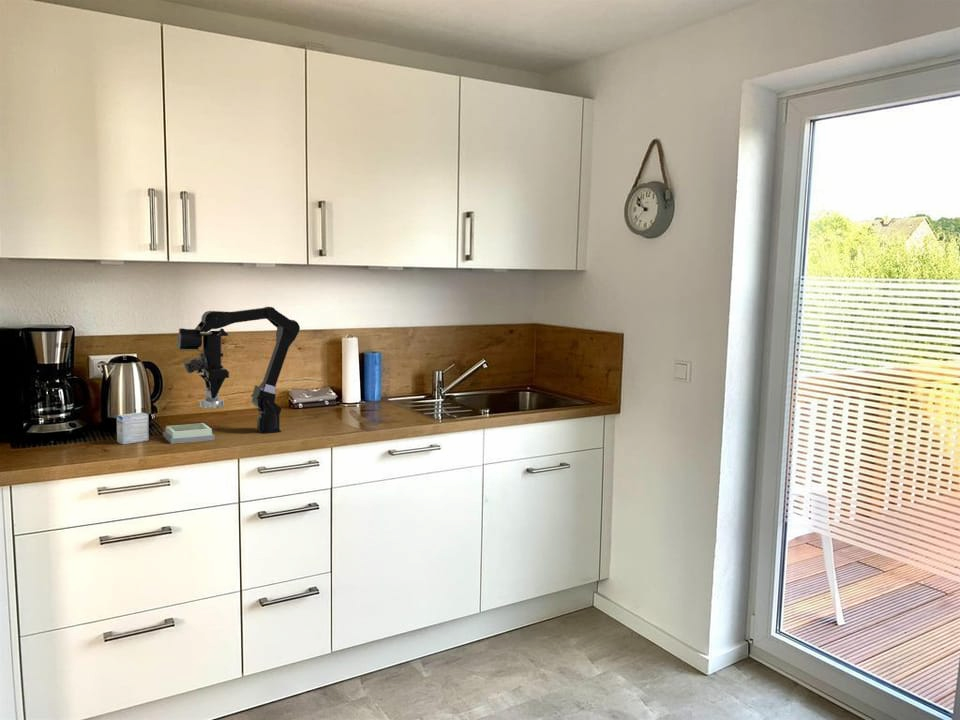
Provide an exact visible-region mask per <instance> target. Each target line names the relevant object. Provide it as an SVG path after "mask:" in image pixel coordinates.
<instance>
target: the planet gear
mask: <svg viewBox="0 0 960 720" xmlns="http://www.w3.org/2000/svg"><path fill="white" fill-rule="evenodd" d="M204 391H205V393H204V394H205V397H204V399H200V400H199V408H204V409H217V408H224V406H225V400H224V399H219V397H220V396H219V395H220V394H219V393H220V391H219V392H218V394H217V396H216V398H212V397H211V391H210V388H206V387H205V389H204Z"/></svg>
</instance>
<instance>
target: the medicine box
mask: <svg viewBox="0 0 960 720" xmlns="http://www.w3.org/2000/svg"><path fill="white" fill-rule="evenodd" d="M116 437H117V438H116V441H117V443H118V444H121V445H128V444H134V443H142V442H149V414H148V413H145V412H133V413H124V414H117V415H116Z"/></svg>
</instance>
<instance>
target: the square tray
mask: <svg viewBox="0 0 960 720" xmlns="http://www.w3.org/2000/svg"><path fill="white" fill-rule="evenodd" d="M162 433H163V434H162V437H163V439H165V440H166V441H167V442H169V444H170V445H173V444H184V443H185V444H186V443H194V442H196V443H197V442H207V441H215V440H216V439H215V437H216V436H215V434H213V428H211V427H209V426H208V425H207V424H205V423H204V422H200V423H187V424H175V425H174V424H173V425H165V431H163V432H162Z"/></svg>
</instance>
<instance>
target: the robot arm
mask: <svg viewBox="0 0 960 720" xmlns="http://www.w3.org/2000/svg"><path fill="white" fill-rule="evenodd" d="M257 320H268V321H269V323H271V324H272V325H273V326H274V327H276V333H275V345H274V348H273V351H272V353H271V358H270V360H269V363H268V366H267V369H266V372H265V374H264V377H263V380H262V381H261V383H260V384H259V385H254V387H253V392H252V394H251V395H250V397H252V398H251V402H252V404H253V406H254V407H255V408H257V411H258V417H257V418H256V426H257V427H256V429H257V431H258V432H260V433H262V434H267V433H278V432H282V429H280V425H281V424H280V414H281V412H282V407H280V406H279V404H277V403H276V394H277V393H276V392H277V391H276V389H277V388H276V387H277V383H278V380H279V378H280V375H281V371H282V368H283V365H284V362H285V361H286V356H287V354H288V352H289V348H290V346H291V345H292V344H293V343H294V341H296V338H297V337H298V335H299V333H300V329H301V327H300V325H299V322H297V321H296V320H294V319H289V318H288V317H287V316H285V315H284V314H282V313H281V312H279V311H278V310H277V309H275V307H273V306H264V307H260V308H250V309H243V310H235V311H222V310H220V311H219V310H207V311H205V312H204V313H203V314H202V316H201V321H200V322H199V323H198V324H197V326H196V327H195V328H193V329H192V328H183V327H181V328H178V334H177V338H176V346H177V349H178V350H179V351H193V350H194V351H195V350H199V348H202V352H201V353H200V354H199V357H197V358H192V359H190V360H188V361H185V362H183V367H184V369H185V371H186V373H188V374H193V373H194V372H195V373H196V374H198V376H199V377H201V379H203V380H204V383H205V388H210V391H211V397H212V398H216V396H217V394H218V392H219V393H220V389H221V387H222V386H223V384H224V381H226V379H228V378H230V371H229V370H228V369H226V368H224V365H222V362H223V361H222V357H224V353H223V352H222V351H223V350H222V349H223V347H222V345H223V344H222V343H223V341H222V339H223V338H222V337H229V333H228V332H226V331H225V330H224V327H227V326H230V325H233V324H236V323H243V322H251V321H257ZM218 329H219V330H218Z"/></svg>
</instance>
